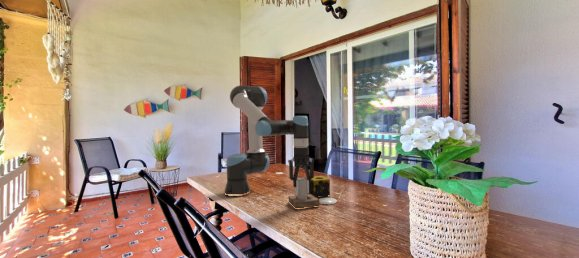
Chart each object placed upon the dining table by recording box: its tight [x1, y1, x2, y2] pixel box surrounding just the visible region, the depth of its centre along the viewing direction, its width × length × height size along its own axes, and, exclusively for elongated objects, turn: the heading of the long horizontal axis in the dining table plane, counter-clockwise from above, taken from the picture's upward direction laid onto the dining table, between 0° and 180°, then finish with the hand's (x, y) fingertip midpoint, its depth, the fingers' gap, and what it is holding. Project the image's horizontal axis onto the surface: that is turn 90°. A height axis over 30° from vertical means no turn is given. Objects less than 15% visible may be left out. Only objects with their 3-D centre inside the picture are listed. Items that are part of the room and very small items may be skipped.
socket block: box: [288, 194, 320, 209], centre depth 136 cm, size 12×12×4 cm
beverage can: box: [296, 177, 307, 200], centre depth 136 cm, size 5×5×12 cm
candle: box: [309, 175, 331, 197], centre depth 153 cm, size 10×10×10 cm
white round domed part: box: [318, 197, 338, 205], centre depth 140 cm, size 10×10×1 cm
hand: (302, 192), depth 136 cm, fingers closed on beverage can, 5 cm apart
